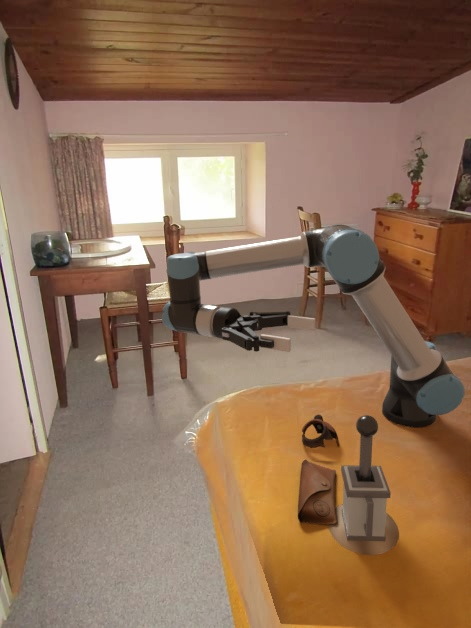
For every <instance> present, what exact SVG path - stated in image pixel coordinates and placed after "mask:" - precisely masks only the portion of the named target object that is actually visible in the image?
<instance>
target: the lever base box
mask: <svg viewBox="0 0 471 628" xmlns="http://www.w3.org/2000/svg"><path fill="white" fill-rule="evenodd" d="M340 467H341V468H340V472H341V476H342V482H343V488H342V489H343V491H342V492H343V493H342V504H343V509H342V517H343V522H344V527H345V532H346V537H347V540H352V541H386V537H385V520H386V513H387V500H388V499H391V496H392V495H391V491H390V487H389V485H388V484H389V483H388V482H387V479H386V476H385V472H384V470H383V468H382V466H381V465H371V480H370V482H359V465H354V464H353V465H349V464H348V465H346V464H345V465H340Z"/></svg>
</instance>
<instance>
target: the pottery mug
mask: <svg viewBox="0 0 471 628" xmlns="http://www.w3.org/2000/svg"><path fill="white" fill-rule="evenodd" d="M311 426H312V427H313V428H314V429H315V432H316V433H317V434H320V435H318V437H316V438H307V436H306V431H307V430H308V428H310V427H311ZM301 432H302V435H301V442H302V445H303V446H305V447H306V448H310V449H313V448H314V449H317V448H320V447H322V448H326V446H325V441H329V440H330V441H332V440H335V441H336V442H335V443H336V445H337V448H339V447H340V440H339V437H338V436H339V435H338V433H337V431H336V429H335V428H334V426H332V424H330V423H329V422H327V421H325V420H324V417H323V416H322V415H321V414H316V415H315V416H313V419H311V420H309V421H308V422H306V423H305V424H304V425H303V427H302V428H301Z"/></svg>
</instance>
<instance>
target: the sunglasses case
mask: <svg viewBox="0 0 471 628" xmlns="http://www.w3.org/2000/svg"><path fill="white" fill-rule="evenodd" d="M300 467H301V469H300V475H299V476H300V478H299V489H298V502H297V503H298V504H297V518H298V521H299V522H300V523H301V524H307V525H308V524H310V525H318V526H320V525H321V526H328V525H333V524H336V523H337V515H336V509H335V508H336V499H335V498H336V497H335V496H336V495H335V486H336V485H335V484H336V482H335V481H336V473H337V471H336V469H330V468H328V467H325V466H321V465H320V464H316V463H314V462H311V461H309V460H308V459H304V460H303V461H302V463H301V466H300Z"/></svg>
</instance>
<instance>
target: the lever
mask: <svg viewBox="0 0 471 628" xmlns="http://www.w3.org/2000/svg"><path fill="white" fill-rule="evenodd" d="M355 428H356V431H357V432H358V433H359V435H360V438H359V440H360V441H359V442H360V443H359V465H358V466H359V482H370V480H371V466H372V458H373V457H372V456H373V437H374V436H375V435H376V434H377V432H378V430H379V423H378V422H377V420H376V418H375V417H374V416H372V415H368V414H363V415H362V416H360V417H359V418H358V419H356V422H355Z"/></svg>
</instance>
